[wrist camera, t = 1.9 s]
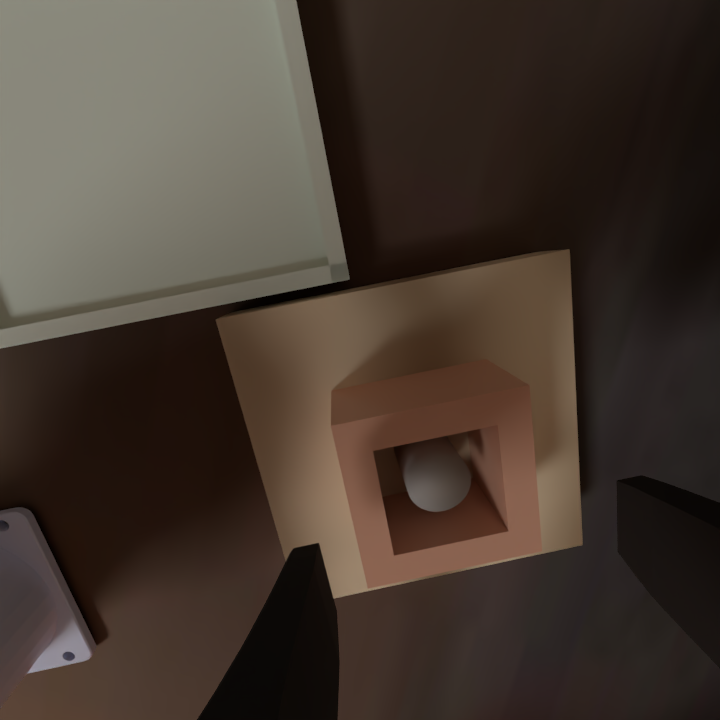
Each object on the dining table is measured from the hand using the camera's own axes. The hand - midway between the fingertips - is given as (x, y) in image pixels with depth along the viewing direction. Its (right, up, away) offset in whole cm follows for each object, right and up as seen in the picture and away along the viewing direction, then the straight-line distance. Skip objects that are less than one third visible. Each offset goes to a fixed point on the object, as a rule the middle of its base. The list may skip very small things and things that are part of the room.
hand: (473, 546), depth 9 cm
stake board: (-1, +2, +7) cm, 7 cm away
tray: (-11, +12, +4) cm, 16 cm away
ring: (0, +1, +5) cm, 5 cm away
